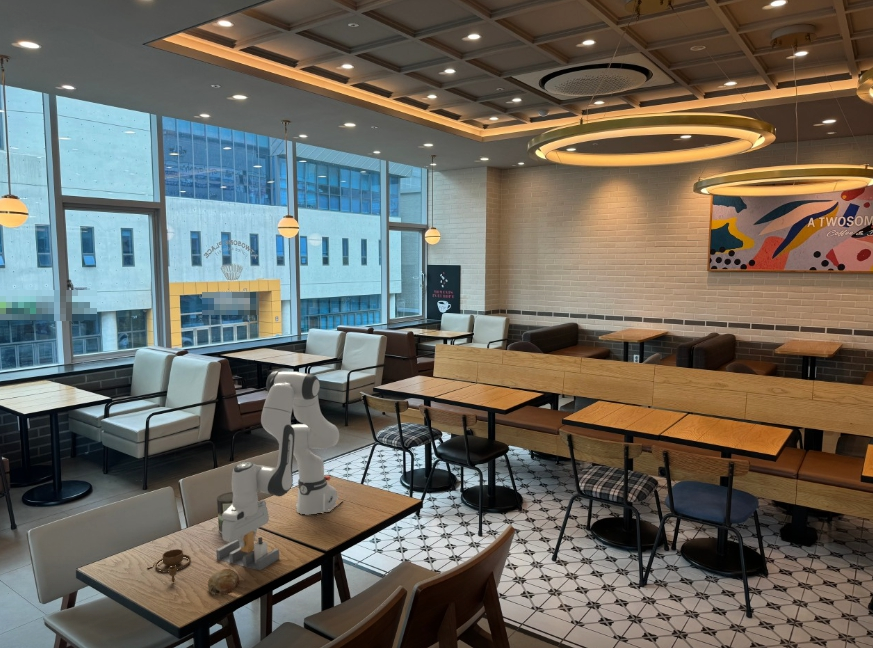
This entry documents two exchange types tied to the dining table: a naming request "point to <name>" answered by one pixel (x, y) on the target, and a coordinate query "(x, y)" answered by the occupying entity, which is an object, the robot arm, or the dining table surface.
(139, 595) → the dining table surface
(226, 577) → the bread roll
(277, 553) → the rack
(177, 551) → the place setting
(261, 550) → the white plug
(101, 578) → the dining table surface
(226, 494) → the coffee can
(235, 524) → the robot arm
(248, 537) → the orange plug
